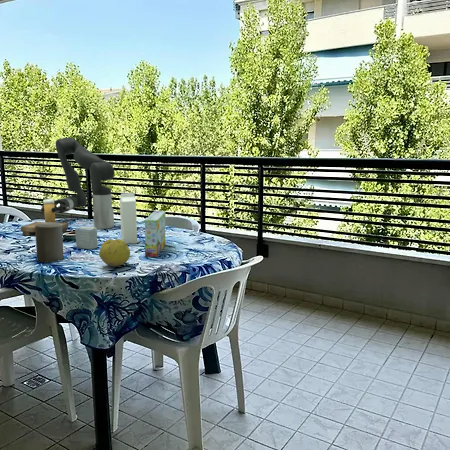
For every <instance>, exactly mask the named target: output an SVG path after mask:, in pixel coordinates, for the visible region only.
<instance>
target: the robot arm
mask: <svg viewBox="0 0 450 450" xmlns="http://www.w3.org/2000/svg"><path fill="white" fill-rule="evenodd" d="M55 150H56V153H57V155H58V158H59V161H60V164H61V167H62V170H63V172H64V175H65V180H66V184H67V189H68V191H69V192H74V193H75V194H73V195H69V196H67V197H63V198H59V199H56V200H54V208H52V212H55V213H58V214H64V213H66V212H69V211H71V210H73V209H76V208H80V207H85V206H86V205H88V198H87V196H86V194H85V192H84V190H83V188H82V184H81V180H80V176H79V174H78V171H76V169H74V168H73V166H72V165H71V164H70V163H69V161H68V159H67V156H68V155H73V160H74V161H75V163H76V164H78V165H79V166H80V167H82V168H83V169H87V170H89V176H90V185H91V186H90V187H91V193H92V211H93V212H92V213H93V226H94V228H97V230H98V229H99V230H100V229H101V230H103V229H104V230H105V229H111V228H113V227H115V218H114V215H115V213H114V208H113V204H112V202H113V201H112V189H111V188H110V187H107V186H104V185H103V184H102V181H103V182H105V181H110V180H112V179H113V178H114V177H115V168H114V166H113V165H112V163H110V162H109V161H106V160H104V159H102V158H100V157H99V156H98V155H96V154H94V153H92V152H91V151H90V150H89V149H87V148H86V147H85V146H83V145H82V144H81V143H79V141H78V140H77V139H76V138H74V137H64V138H57V139H56V141H55ZM40 209H41V213H44V204H43V205H42V206H41V208H40Z"/></svg>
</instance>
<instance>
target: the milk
mask: <svg viewBox="0 0 450 450" xmlns="http://www.w3.org/2000/svg"><path fill="white" fill-rule="evenodd" d="M119 210H120V211H119V214H120V217H119V218H120V234H121V235H120V236H121V237H120V238H121V239H120V240H123V241H124V242H125V243H126V245H129V244H137V243H138V227H137V225H138V224H137V223H138V222H137V201H136V196H135V193H134V192H129V193H126V192H124V193H120V198H119Z"/></svg>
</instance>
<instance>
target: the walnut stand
mask: <svg viewBox="0 0 450 450" xmlns="http://www.w3.org/2000/svg"><path fill="white" fill-rule="evenodd" d="M39 223H48V222H45V221H35V222H32V223H29V224H26V225H22V226H20V232H22V236H31V235H33V234H36V233H35V225H36V224H39ZM60 223H61V224H62V232H64V231H66V232H67V231H68V228H69V223H67V222H60ZM64 233H65V232H64Z"/></svg>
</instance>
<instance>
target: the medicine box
mask: <svg viewBox="0 0 450 450" xmlns="http://www.w3.org/2000/svg"><path fill="white" fill-rule="evenodd" d="M74 229H75V230H74V233H75V245H76V246H75V247H76V249H84V250H94V249H96V248H98V247H99V244H98V232H97V231H98V229H97V228H94V227H93V226H78V227H76V228H74Z"/></svg>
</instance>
